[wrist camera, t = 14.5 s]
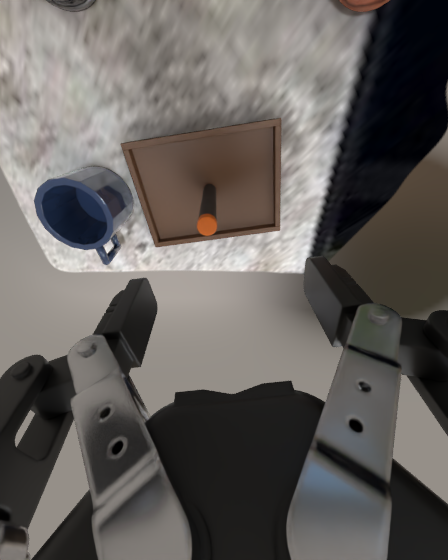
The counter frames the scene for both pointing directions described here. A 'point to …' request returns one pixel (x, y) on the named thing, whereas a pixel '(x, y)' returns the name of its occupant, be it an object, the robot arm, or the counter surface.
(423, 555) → the robot arm
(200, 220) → the marker
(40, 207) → the mug
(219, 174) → the tray
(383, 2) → the potted flower
